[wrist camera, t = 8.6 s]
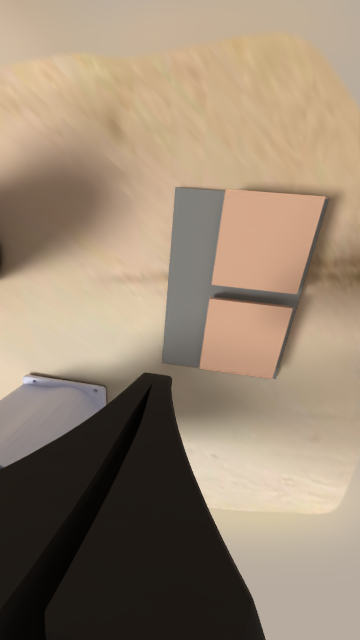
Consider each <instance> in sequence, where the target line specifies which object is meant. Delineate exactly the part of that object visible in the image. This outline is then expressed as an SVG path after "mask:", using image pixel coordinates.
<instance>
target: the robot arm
mask: <svg viewBox="0 0 360 640" xmlns="http://www.w3.org/2000/svg"><path fill="white" fill-rule="evenodd" d="M171 386H172V378H171V377H170V376H165V375H158V374H151V373H143V374H142V375H141V376H140V377H139V378H138V379H137V380H135V381H134V382H133V383H132V384H131V385H130V386H129V387H128V388H127V389H125V390H124V391H123V392H122V393H121V394H119V395H118V396H117V397H116V398H115V399H113V400H112V401H111V402H110V403H108V404H107V405H106V389H105V388H104V387H103V386H99V385H92V384H86V383H79V382H73V381H66V380H60V379H53V378H46V377H40V376H33V375H26V376H24V377H23V385H22V386H20V387H19V388H17V389H16V390H14V391H13V392H12V393H10V394H9V395H7V396H6V397H4V398H3V399H2V400H0V640H266V639H265V636H264V633H263V629H262V626H261V623H260V620H259V616H258V613H257V610H256V607H255V604H254V601H253V598H252V596H251V594H250V592H249V590H248V588H247V586H246V584H245V582H244V580H243V578H242V576H241V574H240V573H239V571H238V569H237V567H236V565H235V563H234V561H233V559H232V557H231V555H230V553H229V551H228V549H227V547H226V545H225V543H224V541H223V539H222V537H221V535H220V533H219V531H218V529H217V526H216V524H215V522H214V520H213V518H212V516H211V514H210V512H209V509H208V507H207V505H206V502H205V500H204V498H203V495H202V493H201V490H200V488H199V486H198V483H197V481H196V479H195V476H194V474H193V471H192V469H191V466H190V463H189V461H188V458H187V455H186V452H185V449H184V446H183V443H182V440H181V436H180V433H179V429H178V425H177V421H176V417H175V413H174V407H173V401H172V392H171ZM95 389H97V390H95Z"/></svg>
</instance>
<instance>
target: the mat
mask: <svg viewBox="0 0 360 640" xmlns="http://www.w3.org/2000/svg"><path fill="white" fill-rule="evenodd" d="M224 193H225V191H217V190H204V189H191V188H178V187H176V188H175V201H174V214H173V227H172V240H171V253H170V266H169V279H168V292H167V305H166V319H165V332H164V345H163V358H162V363H167V364H174V365H181V366H188V367H196V368H199V366H200V356H201V349H202V343H203V336H204V329H205V322H206V315H207V309H208V302H209V296H210V297H218V298H227V299H236V300H244V301H253V302H262V303H271V304H279V305H288V306H289V307H291V308H293V310H292V314H291V317H290V320H289V324H288V327H287V331H286V334H285V338H284V341H283V344H282V348H281V351H280V355H279V358H278V361H277V365H276V368H275V372H274V375H273V379H276V375H277V372H278V369H279V365H280V362H281V358H282V355H283V352H284V348H285V345H286V342H287V338H288V335H289V332H290V328H291V325H292V322H293V318H294V315H295V312H296V308H297V305H298V301H299V298H300V295H301V291H302V288H303V285H304V281H305V278H306V275H307V271H308V268H309V265H310V261H311V258H312V254H313V251H314V248H315V244H316V241H317V238H318V234H319V231H320V228H321V224H322V221H323V218H324V214H325V211H326V207H327V204H328V201H329V199H325V201H324V204H323V207H322V211H321V214H320V218H319V221H318V224H317V228H316V231H315V235H314V238H313V242H312V245H311V248H310V252H309V255H308V259H307V262H306V266H305V269H304V272H303V276H302V279H301V283H300V286H299V290H298V293H297V294H290V293H281V292H272V291H263V290H254V289H245V288H236V287H227V286H218V285H212V284H211V281H212V274H213V268H214V261H215V254H216V247H217V240H218V233H219V227H220V220H221V213H222V206H223V199H224Z"/></svg>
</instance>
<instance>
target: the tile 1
mask: <svg viewBox="0 0 360 640" xmlns="http://www.w3.org/2000/svg"><path fill="white" fill-rule="evenodd" d="M292 310H293V308H291V307H289V306H288V305H279V304H271V303H262V302H253V301H244V300H236V299H227V298H218V297H210V296H209V302H208V309H207V315H206V322H205V329H204V336H203V343H202V349H201V356H200V366H199V369H206V370H213V371H220V372H227V373H234V374H241V375H248V376H255V377H262V378H269V379H273V375H274V372H275V368H276V365H277V361H278V358H279V355H280V351H281V348H282V344H283V341H284V338H285V334H286V331H287V327H288V324H289V320H290V317H291V314H292Z"/></svg>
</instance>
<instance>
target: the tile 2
mask: <svg viewBox="0 0 360 640" xmlns="http://www.w3.org/2000/svg"><path fill="white" fill-rule="evenodd" d="M324 201H325V196H311V195H298V194H285V193H272V192H259V191H245V190H232V189H226V191H225V193H224V199H223V206H222V213H221V220H220V227H219V233H218V240H217V247H216V254H215V261H214V268H213V274H212V281H211V284H212V285H218V286H227V287H236V288H245V289H254V290H263V291H272V292H281V293H290V294H297V293H298V290H299V286H300V283H301V279H302V276H303V272H304V269H305V266H306V262H307V259H308V255H309V252H310V248H311V245H312V242H313V238H314V235H315V231H316V228H317V224H318V221H319V218H320V214H321V211H322V207H323V204H324Z"/></svg>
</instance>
